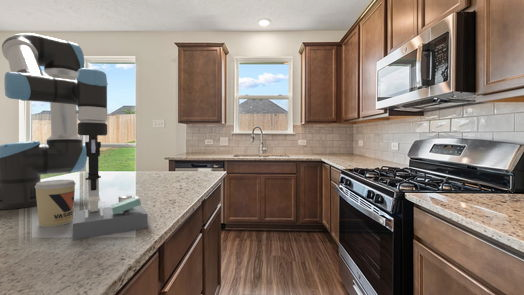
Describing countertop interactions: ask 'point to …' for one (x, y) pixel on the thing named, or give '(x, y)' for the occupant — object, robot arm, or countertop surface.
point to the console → (108, 221)
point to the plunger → (124, 198)
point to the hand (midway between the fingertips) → (93, 200)
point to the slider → (93, 203)
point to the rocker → (125, 205)
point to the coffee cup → (55, 202)
